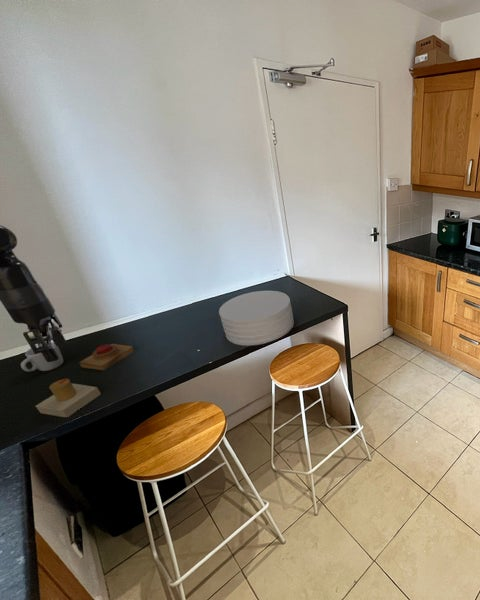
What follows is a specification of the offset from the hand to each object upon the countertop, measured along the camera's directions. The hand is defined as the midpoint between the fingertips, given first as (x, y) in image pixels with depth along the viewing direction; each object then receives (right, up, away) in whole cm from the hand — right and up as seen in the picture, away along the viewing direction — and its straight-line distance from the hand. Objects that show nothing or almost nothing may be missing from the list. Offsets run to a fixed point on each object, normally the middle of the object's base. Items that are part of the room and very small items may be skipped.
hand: (57, 352), depth 87 cm
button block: (-15, -8, +32) cm, 36 cm away
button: (-15, -5, +30) cm, 34 cm away
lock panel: (-8, -18, +12) cm, 23 cm away
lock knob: (-8, -15, +10) cm, 20 cm away
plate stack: (+33, +2, +52) cm, 62 cm away
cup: (-33, -11, +27) cm, 43 cm away
